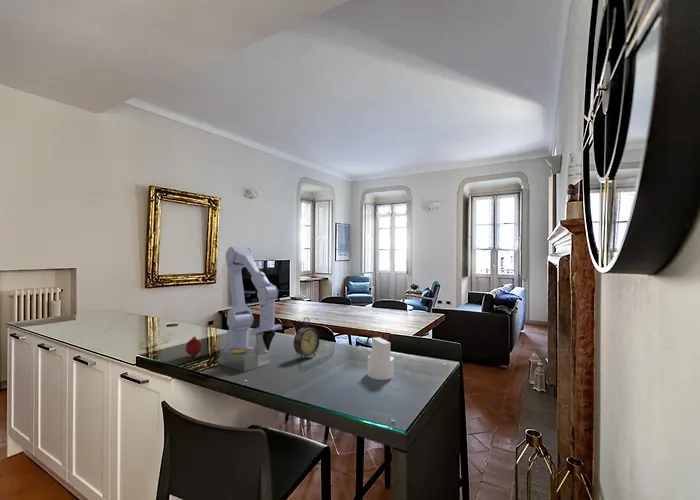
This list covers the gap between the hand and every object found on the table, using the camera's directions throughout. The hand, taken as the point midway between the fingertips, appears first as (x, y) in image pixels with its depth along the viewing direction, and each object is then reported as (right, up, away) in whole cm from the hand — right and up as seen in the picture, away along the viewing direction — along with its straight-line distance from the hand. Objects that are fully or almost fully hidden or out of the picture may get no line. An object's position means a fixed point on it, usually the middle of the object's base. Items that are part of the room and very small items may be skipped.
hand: (266, 350), depth 135 cm
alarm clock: (+15, -4, +1) cm, 16 cm away
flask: (-2, -3, -2) cm, 4 cm away
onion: (-29, -3, -1) cm, 29 cm away
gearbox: (-6, -3, -8) cm, 10 cm away
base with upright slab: (+44, -4, -17) cm, 47 cm away
